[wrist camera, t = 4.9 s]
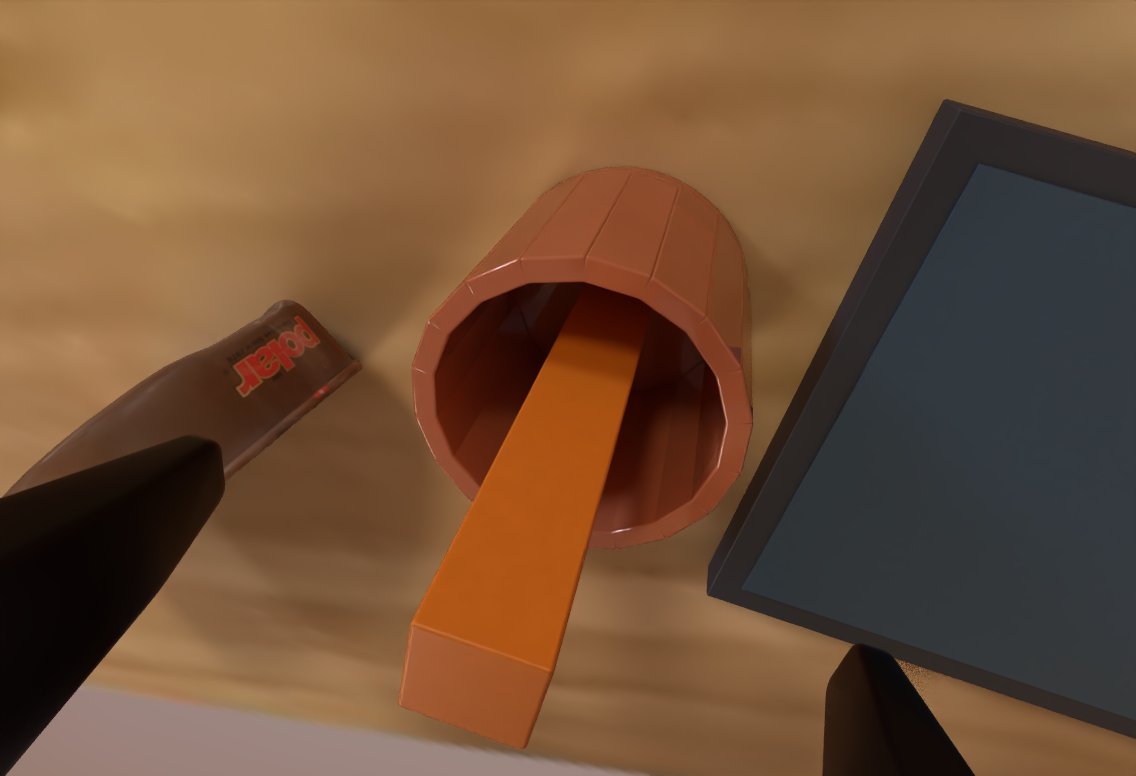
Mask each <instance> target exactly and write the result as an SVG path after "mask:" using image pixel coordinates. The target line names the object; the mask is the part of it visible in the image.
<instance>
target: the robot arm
mask: <svg viewBox="0 0 1136 776" xmlns="http://www.w3.org/2000/svg"><path fill="white" fill-rule="evenodd" d="M224 490H225V477H224V467H223V457H222V449H221V446H220V445H219V443H218V442H216V441H214V440H211V439H208V438H204V437H201V436H198V435H194V434H188V435H184V436H181V437H178V438H175V439H172V440H169V441H166V442H163V443H160V444H157V445H154V446H152V447H149V448H146V449H143V450H140V451H137V452H134V453H131V454H128V455H125V456H122V457H119V458H116V459H113V460H111V461H108V462H105V463H102V464H99V465H96V466H93V467H90V468H87V469H84V470H81V471H78V472H75V473H72V474H70V475H67V476H64V477H61V478H58V479H55V480H52V481H49V482H46V483H43V484H40V485H37V486H34V487H31V488H29V489H26V490H23V491H20V492H17V493H14V494H11V495H8V496H5V497H2V498H0V776H5V775H6V774H7V773H8V772H9V771H10V769H11V768H12V767H13V766H14V765H15V764H16V762H17V761H18V760H19V759H20V758H21V756H22V755H23V754H24V753H25V752H26V750H27V749H28V748H29V747H30V746H31V744H32V743H33V742H34V741H35V739H36V738H37V737H38V736H39V734H41V732H42V731H43V730H44V728H46V726H47V725H48V724H49V723H50V721H51V720H52V719H53V718H54V717H55V716H56V714H57V713H58V712H59V711H60V710H61V708H62V707H63V706H64V705H65V704H66V702H67V701H68V700H69V699H70V697H71V696H72V695H73V694H74V693H75V692H76V690H77V689H78V688H79V687H80V686H81V684H82V683H83V682H84V681H85V680H86V679H87V677H88V676H89V675H90V674H91V673H92V671H93V670H94V669H95V668H96V667H97V665H98V664H99V663H100V662H101V661H102V659H103V658H104V657H105V656H106V655H107V653H108V652H109V651H110V650H111V649H112V647H113V646H114V645H115V644H116V643H117V641H118V640H119V639H120V638H121V637H122V635H123V634H124V633H125V632H126V631H127V629H128V628H129V627H130V626H131V625H132V623H133V622H134V621H135V620H136V619H137V617H138V616H139V615H140V614H141V613H142V611H143V610H144V609H145V608H146V607H147V605H148V604H149V603H150V602H151V600H152V599H153V598H154V597H155V595H156V594H157V593H158V592H159V590H160V589H161V588H162V586H163V585H164V583H165V582H166V581H167V579H168V578H169V576H170V575H171V573H172V572H173V570H174V569H175V568H176V566H177V565H178V563H179V562H180V560H181V559H182V557H183V556H184V554H185V553H186V551H187V550H188V548H189V547H190V545H191V544H192V542H193V541H194V539H195V538H196V536H197V535H198V533H199V532H200V530H201V529H202V527H203V526H204V525H205V523H206V522H207V520H208V519H209V517H210V516H211V514H212V513H213V511H214V510H215V508H216V507H217V505H218V504H219V502H220V500H221V498H222V496H223V493H224ZM822 776H975V775H974V773H973V772H972V770H971V769H970V767H969V766H968V765H967V763H966V762H965V760H964V759H963V757H962V756H961V754H960V753H959V752H958V750H957V749H956V747H955V746H954V744H953V743H952V741H951V740H950V738H949V737H948V736H947V734H946V733H945V731H944V730H943V728H942V727H941V725H940V724H939V723H938V721H937V720H936V718H935V717H934V715H933V714H932V712H931V711H930V709H929V708H928V707H927V705H926V704H925V702H924V701H923V699H922V698H921V696H920V695H919V694H918V692H917V691H916V689H915V688H914V686H913V685H912V683H911V682H910V680H909V679H908V678H907V676H906V675H905V673H904V672H903V670H902V669H901V667H900V666H899V665H898V663H897V662H896V660H895V659H894V657H893V656H892V655H891V654H890V653H889V652H887V651H885V650H882V649H879V648H876V647H872V646H869V645H866V644H863V643H857V644H855V645H853V646H852V648H851V649H850V650H849V652H848V653H847V654H846V656H845V657H844V659H843V660H842V662H841V663H840V665H839V666H838V668H837V669H836V670H835V672H834V673H833V675H832V676H831V678H830V680H829V683H828V686H827V690H826V701H825V726H824V750H823V774H822Z"/></svg>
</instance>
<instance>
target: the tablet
mask: <svg viewBox="0 0 1136 776" xmlns="http://www.w3.org/2000/svg"><path fill="white" fill-rule="evenodd" d="M707 595H708V596H711V597H714V598H717V599H720V600H723V601H726V602H729V603H732V604H735V605H738V606H741V607H744V608H747V609H750V610H753V611H756V612H759V613H762V614H765V615H768V616H771V617H774V618H777V619H780V620H783V621H786V622H789V623H792V624H795V625H798V626H801V627H804V628H807V629H810V630H813V631H816V632H819V633H822V634H825V635H828V636H831V637H834V638H837V639H840V640H843V641H846V642H849V643H852V644H857V643H863V644H866V645H869V646H872V647H876V648H879V649H882V650H885V651H887V652H889V653H890V654H891V655H892V656H893V657H894V658H896V659H899V660H902V661H905V662H908V663H911V664H914V665H917V666H920V667H923V668H926V669H929V670H932V671H935V672H938V673H941V674H944V675H947V676H950V677H953V678H956V679H959V680H962V681H965V682H968V683H971V684H974V685H977V686H980V687H983V688H986V689H989V690H992V691H995V692H998V693H1001V694H1004V695H1007V696H1010V697H1013V698H1016V699H1019V700H1022V701H1025V702H1028V703H1031V704H1034V705H1037V706H1040V707H1043V708H1046V709H1049V710H1052V711H1054V712H1057V713H1060V714H1063V715H1066V716H1069V717H1072V718H1075V719H1078V720H1081V721H1084V722H1087V723H1090V724H1093V725H1096V726H1099V727H1102V728H1105V729H1108V730H1111V731H1114V732H1117V733H1120V734H1123V735H1126V736H1129V737H1132V738H1135V739H1136V153H1135V152H1131V151H1127V150H1124V149H1120V148H1117V147H1113V146H1110V145H1106V144H1103V143H1099V142H1096V141H1092V140H1089V139H1085V138H1082V137H1078V136H1075V135H1071V134H1068V133H1064V132H1061V131H1057V130H1054V129H1050V128H1046V127H1043V126H1039V125H1036V124H1032V123H1029V122H1025V121H1022V120H1018V119H1015V118H1011V117H1008V116H1004V115H1001V114H997V113H994V112H990V111H987V110H983V109H980V108H976V107H973V106H969V105H965V104H962V103H958V102H955V101H951V100H948V99H946V100H944V101H943V103H942V105H941V107H940V109H939V111H938V112H937V114H936V116H935V118H934V120H933V122H932V124H931V126H930V128H929V130H928V132H927V134H926V136H925V138H924V140H923V142H922V144H921V146H920V148H919V150H918V152H917V154H916V156H915V158H914V160H913V162H912V164H911V166H910V168H909V170H908V172H907V174H906V176H905V178H904V180H903V182H902V184H901V186H900V188H899V190H898V192H897V194H896V196H895V198H894V200H893V202H892V204H891V206H890V208H889V209H888V211H887V213H886V215H885V217H884V219H883V221H882V223H881V225H880V227H879V229H878V231H877V233H876V235H875V237H874V239H873V241H872V243H871V245H870V247H869V249H868V251H867V253H866V255H865V257H864V259H863V261H862V263H861V265H860V267H859V269H858V271H857V273H856V275H855V277H854V279H853V281H852V283H851V285H850V287H849V289H848V291H847V293H846V295H845V297H844V299H843V301H842V303H841V304H840V306H839V308H838V310H837V312H836V314H835V316H834V318H833V320H832V322H831V324H830V326H829V328H828V330H827V332H826V334H825V336H824V338H823V340H822V342H821V344H820V346H819V348H818V350H817V352H816V354H815V356H814V358H813V360H812V362H811V364H810V366H809V368H808V370H807V372H806V374H805V376H804V378H803V380H802V382H801V384H800V386H799V388H798V390H797V392H796V394H795V396H794V398H793V400H792V401H791V403H790V405H789V407H788V409H787V411H786V413H785V415H784V417H783V419H782V421H781V423H780V425H779V427H778V429H777V431H776V433H775V435H774V437H773V439H772V441H771V443H770V445H769V447H768V449H767V451H766V453H765V455H764V457H763V459H762V461H761V463H760V465H759V467H758V469H757V471H756V473H755V475H754V477H753V479H752V481H751V483H750V485H749V487H748V489H747V491H746V493H745V495H744V496H743V498H742V500H741V502H740V504H739V506H738V508H737V510H736V512H735V514H734V516H733V518H732V520H731V522H730V524H729V526H728V528H727V530H726V532H725V534H724V536H723V538H722V540H721V542H720V544H719V546H718V548H717V550H716V552H715V554H714V556H713V558H712V560H711V562H710V564H709V566H708V579H707Z"/></svg>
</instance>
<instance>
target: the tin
mask: <svg viewBox="0 0 1136 776" xmlns="http://www.w3.org/2000/svg"><path fill="white" fill-rule="evenodd" d="M361 369H362V365H361V363H359V362H358V361H355V360H353V359H352V358H350V356H349V355H348V354H347V353H346V352H345V351H344V350H343V349H342V348H341V346H340V345H339V344H338V343H337V342H336V341H335V340H334V339H333V338H332V336H331V335H330V334H329V333H328V332H327V331H326V330H325V329H324V328H323V327H322V325H321V324H320V323H319V322H318V321H317V320H316V319H315V318H314V317H313V316H312V315H311V314H310V313H309V312H308V311H307V310H306V309H305V308H304V307H303V306H301V305H300V304H298V303H296V302H294V301H290V300H283V301H279V302H277V303H275V304H274V305H273V306H271V307H270V308H269V309H268V310H267V311H266V312H265V313H264V315H263V316H262V317H261V318H259V319H257V320H255V321H253V322H251V323H250V324H248V325H246V326H245V327H243V328H241V329H240V330H238V331H237V332H235V333H233V334H232V335H230V336H228V337H227V338H225V339H223V340H221V341H219V342H218V343H216V344H214V345H212V346H210V347H208V348H205V349H203V350H201V351H198V352H195V353H192V354H190V355H188V356H185V357H183V358H181V359H180V360H177V361H175V362H173V363H171V364H169V365H167V366H165V367H163V368H162V369H160V370H159V371H157V372H156V373H154V374H152V375H151V376H149V377H148V378H146V379H145V380H143V381H142V382H140V383H139V384H137V385H136V386H134V387H133V388H132V389H130V390H129V391H127V392H126V393H125V394H123V395H122V396H120V397H119V398H118V399H116V400H115V401H114V402H112V403H111V404H110V405H108V406H107V407H106V408H104V409H103V410H102V411H100V412H99V413H97V414H96V415H95V416H93V417H92V418H90V419H89V420H88V421H86V422H85V423H84V424H82V425H81V426H80V427H79V428H78V429H76V430H75V431H74V432H73V433H71V434H70V435H69V436H68V437H66V438H65V439H64V440H63V441H62V442H60V443H59V444H58V445H57V446H55V447H54V448H53V449H52V450H51V451H50V452H49V453H47V454H46V455H45V456H44V457H43V458H42V459H41V460H39V461H38V462H37V463H36V464H35V465H34V466H33V467H32V468H30V469H29V470H28V471H27V472H26V473H25V474H24V475H23V476H22V477H21V478H20V479H19V480H18V481H17V482H16V483H15V484H14V485H13V486H12V487H11V488H10V489H9V490H8V491H7V493H6V494H5V495H4V496H3V497H5V496H8V495H11V494H14V493H17V492H20V491H23V490H26V489H29V488H31V487H34V486H37V485H40V484H43V483H46V482H49V481H52V480H55V479H58V478H61V477H64V476H67V475H70V474H72V473H75V472H78V471H81V470H84V469H87V468H90V467H93V466H96V465H99V464H102V463H105V462H108V461H111V460H113V459H116V458H119V457H122V456H125V455H128V454H131V453H134V452H137V451H140V450H143V449H146V448H149V447H152V446H154V445H157V444H160V443H163V442H166V441H169V440H172V439H175V438H178V437H181V436H184V435H188V434H194V435H198V436H201V437H204V438H208V439H211V440H214V441H216V442H218V443H219V445H220V446H221V449H222V457H223V467H224V477H225V481H226V480H228V479H229V478H230V477H231V476H232V475H234V474H235V473H236V472H237V471H238V470H240V469H241V468H242V467H243V466H244V465H245V464H247V463H248V462H249V461H250V460H251V459H253V458H254V457H255V456H257V455H258V454H259V453H260V452H262V451H263V450H264V449H265V448H266V447H268V446H269V445H270V444H271V443H273V442H274V441H275V440H276V439H277V438H278V437H279V436H280V435H281V434H283V433H284V432H285V431H287V430H288V429H289V428H290V427H291V426H292V425H293V424H294V423H296V422H297V421H299V420H300V419H301V418H302V417H303V416H304V415H305V414H307V413H308V412H309V411H310V410H312V409H313V408H315V407H316V406H317V405H318V404H319V403H320V402H321V401H322V400H324V399H325V398H326V397H327V396H329V395H330V394H331V393H332V392H334V391H335V390H336V389H337V388H338V387H340V386H341V385H342V384H343V383H344V382H345V381H347V380H348V379H350V378H351V377H352V376H354V375H355V374H356V373H357V372H358V371H359V370H361Z"/></svg>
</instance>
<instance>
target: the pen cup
mask: <svg viewBox="0 0 1136 776" xmlns="http://www.w3.org/2000/svg"><path fill="white" fill-rule="evenodd" d="M585 283H589V284H593V285H596V286H599V287H602V288H606V289H609V290H612V291H615V292H618V293H622V294H625V295H628V296H631V297H635V298H638V299H640V300H642V301H643V302H644V303H646V304H647V305H649V306H650V307H651V308H653V310H652V313H651V317H650V321H649V324H648V328H647V332H646V335H645V339H644V343H643V347H642V350H641V354H640V358H639V361H638V365H637V369H636V372H635V376H634V380H633V383H632V387H631V391H630V394H629V398H628V402H627V405H626V409H625V413H624V416H623V420H622V424H621V427H620V431H619V435H618V438H617V442H616V446H615V449H614V453H613V457H612V460H611V464H610V468H609V471H608V475H607V479H606V482H605V486H604V490H603V494H602V497H601V501H600V505H599V508H598V512H597V516H596V519H595V523H594V527H593V530H592V534H591V538H590V541H589V545H588V548H602V549H616V548H617V549H621V548H626V547H631V546H635V545H640V544H645V543H649V542H654V541H659V540H663V539H666V537H667V538H669V537H671V536H672V535H674V534H676V533H678V532H679V531H681V530H683V529H684V528H686V527H688V526H689V525H691V524H693V523H695V522H696V521H698V520H700V519H701V518H703V517H705V516H706V515H708V514H709V512H711V511H712V510H713V509H714V508H715V506H716V505H717V504H718V503H719V501H720V500H721V499H722V497H723V496H724V495H725V494H726V492H727V491H728V490H729V488H730V487H731V486H732V485H733V483H734V482H735V481H736V479H737V478H738V477H739V476H740V473H741V471H742V469H743V464H744V460H745V456H746V452H747V448H748V444H749V440H750V435H751V431H752V427H753V397H752V349H751V300H750V289H749V283H748V273H747V266H746V262H745V258H744V254H743V251H742V248H741V246H740V244H739V241H738V239H737V236H736V235H735V233H734V231H733V230H732V228H731V226H730V225H729V223H728V221H727V220H726V219H725V218H724V216H723V215H722V214H721V213H720V211H719V210H718V209H717V208H716V207H715V206H714V205H713V204H712V203H711V202H710V201H709V200H708V199H707V198H706V197H704V196H703V195H702V194H700V193H699V192H697V191H696V190H695V189H693V188H692V187H690V186H689V185H687V184H685V183H683V182H681V181H679V180H677V179H675V178H673V177H670V176H667V175H665V174H662V173H659V172H655V171H651V170H647V169H642V168H632V167H610V168H602V169H597V170H591V171H588V172H585V173H582V174H579V175H576V176H573V177H571V178H569V179H567V180H565V181H563V182H561V183H559V184H558V185H556V186H555V187H553V188H552V189H550V190H549V191H548V192H546V193H545V194H543V195H542V196H541V197H540V198H539V199H538V200H537V201H536V202H535V203H534V204H533V205H532V207H531V208H530V209H529V210H528V211H527V212H526V213H525V214H524V215H523V216H522V217H521V218H520V219H519V220H518V221H517V222H516V224H515V225H514V226H513V227H512V228H511V229H510V230H509V231H508V232H507V233H506V234H505V236H504V237H503V238H502V239H501V240H500V241H499V242H498V243H497V244H496V245H495V246H494V248H493V249H492V250H491V251H490V252H489V253H488V254H487V255H486V256H485V257H484V258H483V260H482V261H481V262H480V263H479V264H478V265H477V266H476V267H475V268H474V269H473V271H472V272H471V273H470V274H469V275H468V276H467V277H466V278H465V279H464V280H463V281H462V283H461V284H460V285H459V286H458V287H457V288H456V289H455V290H454V291H453V292H452V293H451V295H450V296H449V297H448V298H447V299H446V300H445V301H444V302H443V303H442V304H441V305H440V307H439V308H438V309H437V310H436V311H435V312H434V313H433V314H432V315H431V316H430V318H429V320H428V321H427V323H426V326H425V329H424V332H423V335H422V338H421V341H420V343H419V346H418V349H417V352H416V355H415V358H414V361H413V364H412V367H413V368H412V381H413V394H414V408H415V416H416V420H417V422H418V424H419V426H420V429H421V431H422V433H423V435H424V437H425V439H426V442H427V444H428V446H429V448H430V450H431V453H432V455H433V457H434V459H435V461H437V464H438V465H439V466H440V467H441V469H442V470H443V471H444V472H445V473H446V474H447V475H448V476H449V477H450V479H451V480H452V481H453V482H454V483H455V484H456V485H457V486H458V488H459V489H460V490H461V491H462V492H463V493H464V494H465V495H466V496H467V498H468V499H471V501H472V502H473V501H474V499H475V497H476V495H477V493H478V491H479V489H480V487H481V485H482V483H483V481H484V479H485V477H486V475H487V473H488V471H489V470H490V468H491V466H492V464H493V462H494V460H495V458H496V456H497V454H498V452H499V450H500V448H501V446H502V444H503V442H504V440H505V438H506V436H507V434H508V433H509V431H510V429H511V427H512V425H513V423H514V421H515V419H516V417H517V415H518V413H519V411H520V409H521V407H522V405H523V403H524V401H525V399H526V397H527V396H528V394H529V392H530V390H531V388H532V386H533V384H534V382H535V380H536V378H537V376H538V374H539V372H540V370H541V368H542V366H543V364H544V362H545V360H546V359H547V357H548V355H549V353H550V351H551V349H552V347H553V345H554V343H555V341H556V339H557V337H558V335H559V333H560V331H561V329H562V327H563V325H564V323H565V321H566V320H567V318H568V316H569V314H570V312H571V310H572V308H573V306H574V304H575V302H576V300H577V298H578V296H579V294H580V292H581V290H582V288H583V286H584V284H585Z"/></svg>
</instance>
